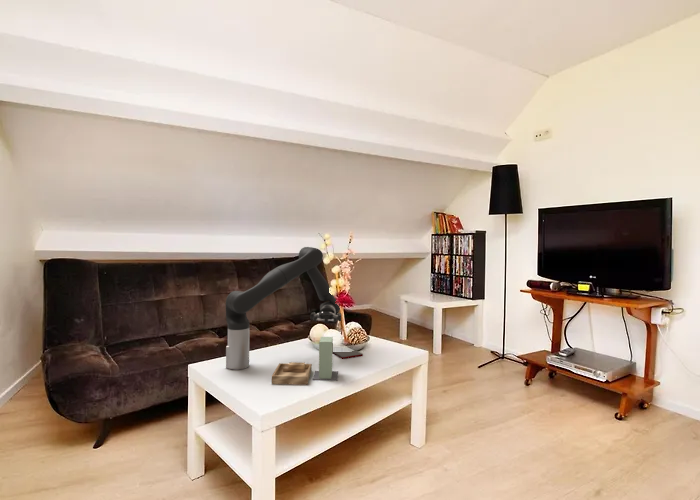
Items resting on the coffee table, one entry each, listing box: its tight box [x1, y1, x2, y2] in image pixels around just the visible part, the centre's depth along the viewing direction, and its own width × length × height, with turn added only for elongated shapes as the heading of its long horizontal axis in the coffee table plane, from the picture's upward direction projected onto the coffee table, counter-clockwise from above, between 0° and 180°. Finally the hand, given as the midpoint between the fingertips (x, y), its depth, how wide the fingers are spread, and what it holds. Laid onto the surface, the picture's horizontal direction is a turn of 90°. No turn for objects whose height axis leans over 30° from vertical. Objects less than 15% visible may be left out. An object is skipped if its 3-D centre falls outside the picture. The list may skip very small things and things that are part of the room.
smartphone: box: [333, 350, 364, 360], centre depth 195 cm, size 12×2×25 cm
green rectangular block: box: [318, 336, 334, 379], centre depth 159 cm, size 5×8×15 cm, turn 179°
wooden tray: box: [271, 362, 313, 386], centre depth 157 cm, size 14×15×3 cm
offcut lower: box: [283, 366, 306, 372], centre depth 161 cm, size 9×3×2 cm, turn 89°
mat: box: [312, 370, 339, 381], centre depth 159 cm, size 10×10×1 cm
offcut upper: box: [288, 361, 306, 369], centre depth 161 cm, size 6×3×2 cm, turn 89°
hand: (324, 319), depth 171 cm, fingers open, 8 cm apart
